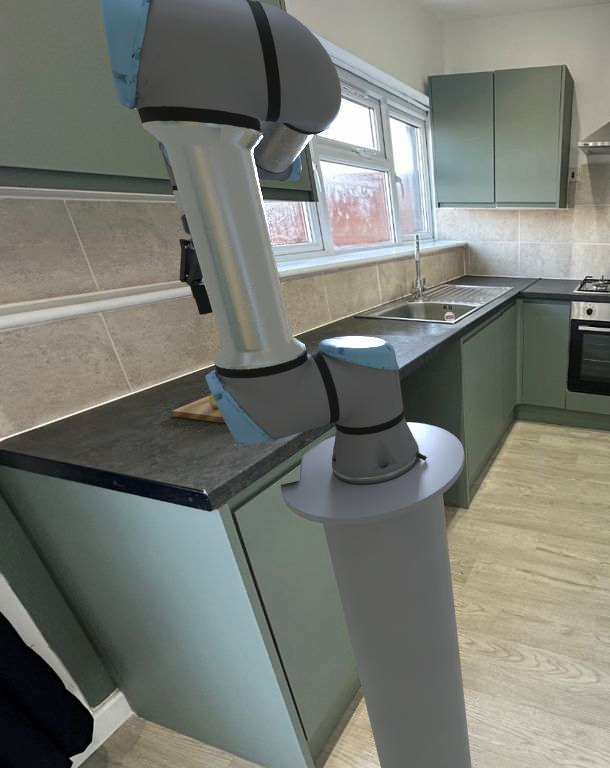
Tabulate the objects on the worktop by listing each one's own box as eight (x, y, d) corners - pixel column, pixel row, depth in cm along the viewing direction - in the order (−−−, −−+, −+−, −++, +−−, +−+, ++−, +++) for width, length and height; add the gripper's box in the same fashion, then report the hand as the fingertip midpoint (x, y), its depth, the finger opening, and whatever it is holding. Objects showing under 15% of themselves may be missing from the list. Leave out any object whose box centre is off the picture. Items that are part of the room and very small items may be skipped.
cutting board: (290, 400, 103) (289, 394, 102) (242, 425, 90) (240, 419, 90) (227, 393, 108) (226, 388, 108) (174, 416, 96) (171, 410, 95)
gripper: (264, 211, 87) (287, 312, 95) (174, 216, 94) (202, 309, 101) (233, 211, 81) (260, 319, 88) (138, 215, 87) (171, 316, 95)
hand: (229, 314), depth 95 cm, fingers open, 13 cm apart
